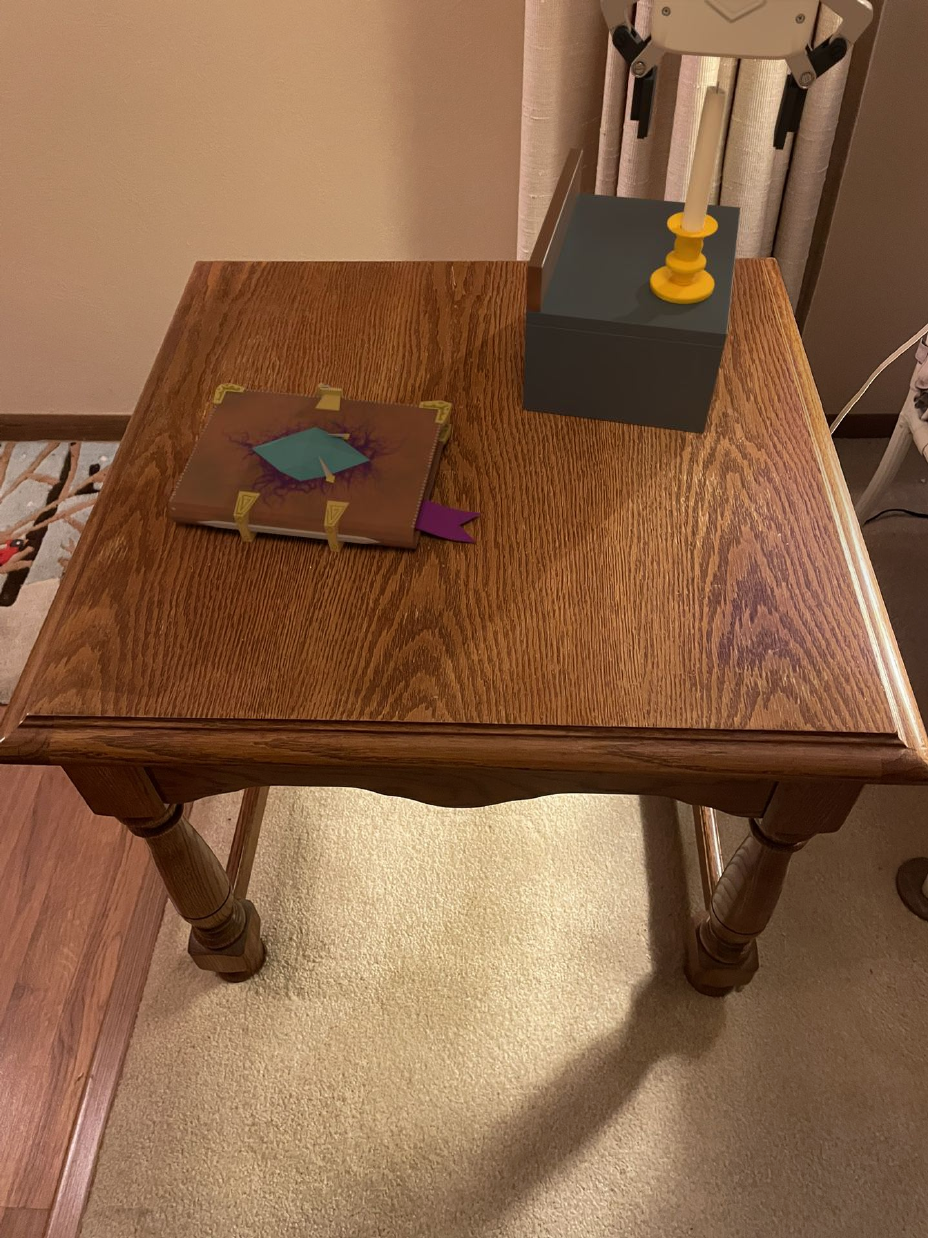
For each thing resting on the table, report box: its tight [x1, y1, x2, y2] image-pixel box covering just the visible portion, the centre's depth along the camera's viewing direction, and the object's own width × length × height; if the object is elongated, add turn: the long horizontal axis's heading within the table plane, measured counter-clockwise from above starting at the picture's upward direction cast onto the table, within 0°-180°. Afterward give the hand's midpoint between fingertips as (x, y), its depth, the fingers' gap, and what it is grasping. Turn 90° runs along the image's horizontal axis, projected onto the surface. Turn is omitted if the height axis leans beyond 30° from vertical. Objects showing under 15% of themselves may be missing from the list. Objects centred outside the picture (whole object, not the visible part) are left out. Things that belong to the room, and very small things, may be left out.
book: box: [168, 381, 483, 553], centre depth 73 cm, size 16×25×5 cm, turn 80°
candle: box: [650, 80, 728, 304], centre depth 67 cm, size 5×5×16 cm
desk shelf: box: [522, 148, 742, 434], centre depth 79 cm, size 16×20×14 cm
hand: (710, 135), depth 64 cm, fingers open, 9 cm apart
